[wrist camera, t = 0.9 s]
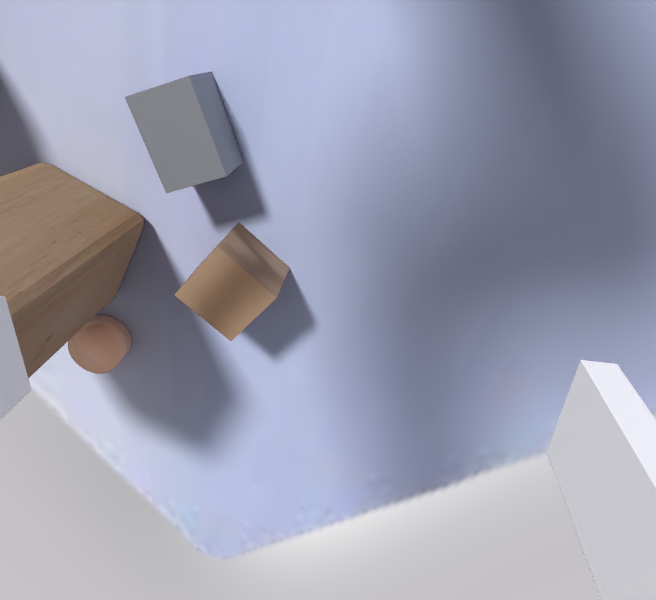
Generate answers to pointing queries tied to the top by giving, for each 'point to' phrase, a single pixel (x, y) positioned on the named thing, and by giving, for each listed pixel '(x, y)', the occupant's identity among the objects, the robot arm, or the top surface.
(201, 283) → the walnut cube
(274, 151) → the top surface
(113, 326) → the terracotta puck
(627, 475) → the robot arm
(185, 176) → the gray block
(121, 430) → the top surface
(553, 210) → the top surface
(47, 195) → the wooden block
